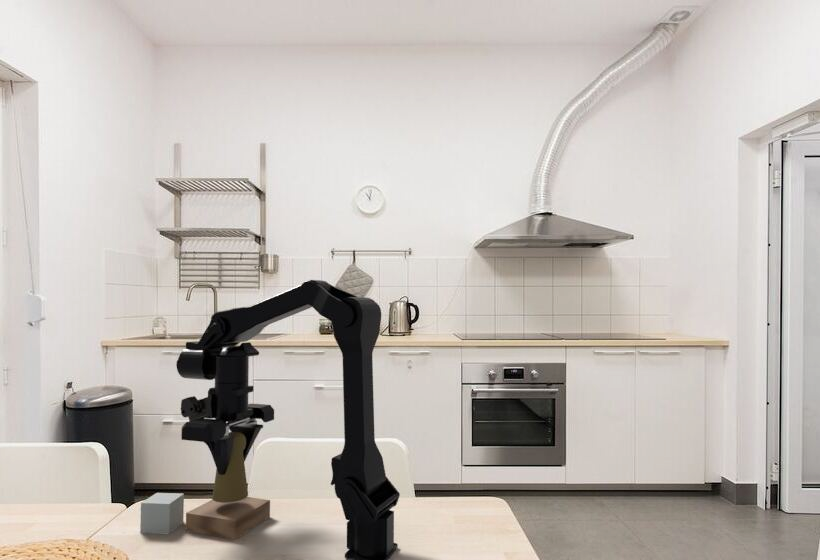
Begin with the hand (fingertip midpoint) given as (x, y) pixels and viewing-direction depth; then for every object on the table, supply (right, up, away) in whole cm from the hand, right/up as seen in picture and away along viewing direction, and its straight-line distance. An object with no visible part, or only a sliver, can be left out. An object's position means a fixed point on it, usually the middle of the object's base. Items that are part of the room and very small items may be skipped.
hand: (230, 470), depth 97 cm
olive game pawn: (0, -5, 0) cm, 5 cm away
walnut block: (0, -9, 0) cm, 9 cm away
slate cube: (-11, -9, -2) cm, 15 cm away
